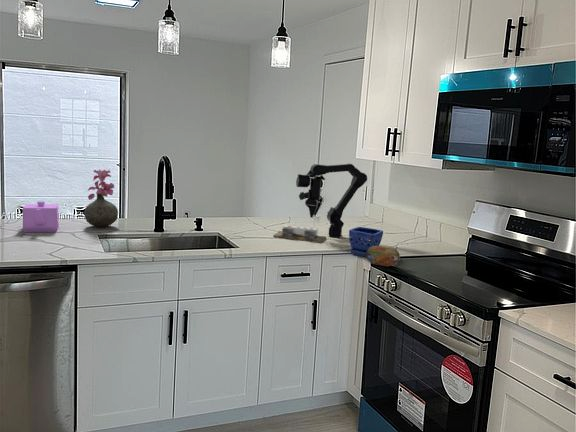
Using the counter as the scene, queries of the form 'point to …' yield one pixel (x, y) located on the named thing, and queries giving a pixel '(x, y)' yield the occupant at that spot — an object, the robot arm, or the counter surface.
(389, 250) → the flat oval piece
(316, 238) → the cradle board
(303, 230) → the white bar
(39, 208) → the pink lidded box
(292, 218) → the counter surface
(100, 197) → the vase
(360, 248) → the flower pot
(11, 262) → the counter surface
